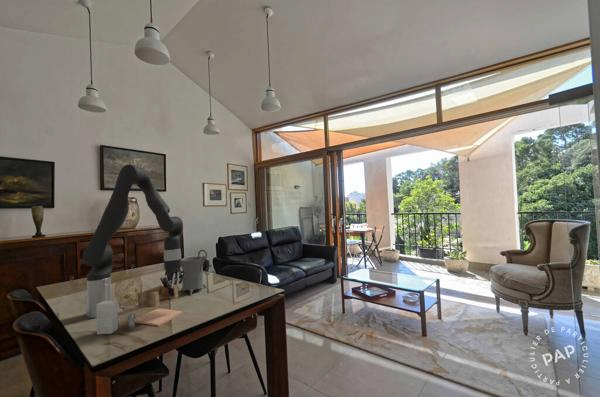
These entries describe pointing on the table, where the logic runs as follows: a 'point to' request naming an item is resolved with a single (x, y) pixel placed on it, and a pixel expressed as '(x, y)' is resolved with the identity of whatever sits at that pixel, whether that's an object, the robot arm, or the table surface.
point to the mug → (193, 272)
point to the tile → (158, 317)
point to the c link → (155, 296)
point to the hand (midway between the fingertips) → (173, 294)
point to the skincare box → (107, 317)
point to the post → (131, 322)
